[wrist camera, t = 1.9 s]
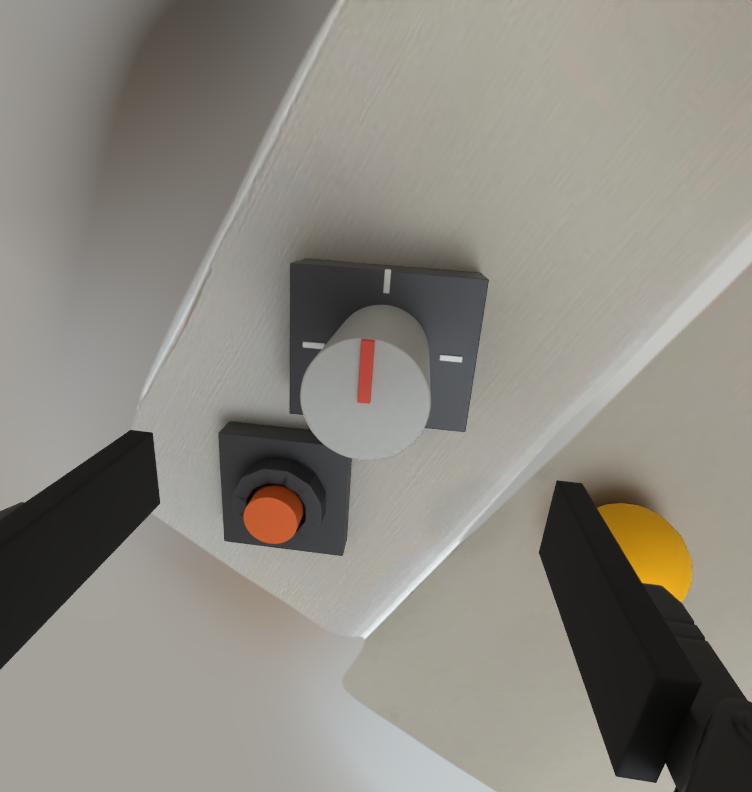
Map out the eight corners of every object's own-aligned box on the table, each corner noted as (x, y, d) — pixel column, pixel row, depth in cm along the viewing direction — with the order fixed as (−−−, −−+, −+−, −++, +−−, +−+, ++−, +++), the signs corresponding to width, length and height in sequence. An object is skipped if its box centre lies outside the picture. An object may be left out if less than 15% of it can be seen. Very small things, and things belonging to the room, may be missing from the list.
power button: (252, 526, 36) (244, 540, 34) (251, 481, 34) (242, 494, 32) (303, 532, 35) (297, 547, 34) (303, 487, 34) (297, 500, 32)
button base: (234, 525, 40) (214, 556, 36) (229, 421, 37) (207, 443, 33) (347, 539, 39) (338, 572, 36) (353, 434, 36) (345, 458, 32)
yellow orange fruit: (587, 584, 39) (623, 664, 32) (538, 519, 37) (564, 587, 30) (680, 541, 36) (741, 617, 29) (632, 469, 35) (684, 531, 28)
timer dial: (423, 400, 30) (423, 470, 21) (333, 391, 30) (297, 456, 22) (434, 308, 28) (438, 346, 19) (337, 300, 28) (298, 333, 20)
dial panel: (303, 395, 35) (288, 415, 31) (305, 256, 32) (289, 261, 28) (460, 411, 34) (465, 434, 30) (481, 271, 31) (489, 277, 27)
